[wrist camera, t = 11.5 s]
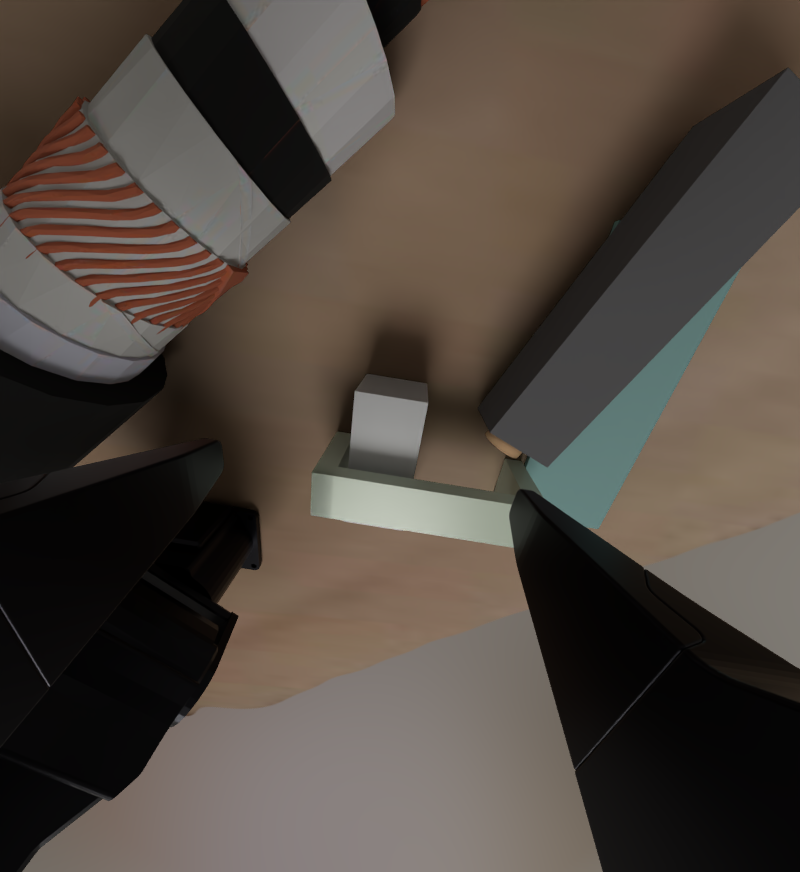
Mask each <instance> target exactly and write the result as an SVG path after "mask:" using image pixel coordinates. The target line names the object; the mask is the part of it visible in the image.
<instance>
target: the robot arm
mask: <svg viewBox="0 0 800 872" xmlns="http://www.w3.org/2000/svg"><path fill="white" fill-rule="evenodd" d="M223 468H224V461H223V452H222V445H221V442H219V441H218V440H214V439H208V438H204V439H199V440H194V441H190V442H185V443H181V444H176V445H172V446H167V447H163V448H158V449H154V450H149V451H145V452H140V453H136V454H131V455H127V456H122V457H118V458H113V459H109V460H104V461H100V462H95V463H91V464H86V465H82V466H77V467H73V468H68V469H64V470H59V471H55V472H51V473H49V474H41V475H37V476H32V477H28V478H23V479H18V480H14V481H9V482H4V483H0V872H22V871H23V870H24V868H25V867H26V865H27V864H28V863H29V862H30V860H31V859H32V858H33V856H34V855H35V853H36V852H37V851H38V850H39V849H40V848H41V847H42V846H43V845H45V844H46V843H47V842H48V841H50V840H51V839H52V838H53V837H55V836H56V835H57V834H58V833H60V832H61V831H62V830H64V829H65V828H66V827H67V826H69V825H70V824H71V823H73V822H74V821H75V820H76V819H78V818H79V817H80V816H81V815H83V814H84V813H85V812H86V811H88V810H89V809H90V808H92V807H93V806H94V805H95V804H97V803H98V802H99V801H100V800H102V799H105V800H107V801H110V800H112V799H113V798H115V797H116V796H117V795H118V794H119V793H120V792H122V791H123V790H124V789H125V788H126V787H127V786H128V785H129V784H130V783H131V782H133V781H134V780H135V779H136V778H137V777H138V776H139V775H140V774H141V772H142V771H143V769H144V768H145V766H146V764H147V763H148V761H149V759H150V758H151V756H152V754H153V752H154V751H155V750H156V748H157V746H158V745H159V742H160V741H161V740H162V738H163V736H164V735H165V733H166V732H167V730H168V729H169V727H173V726H175V725H176V724H178V723H179V722H180V721H181V720H182V719H183V718H184V717H185V716H186V715H187V713H188V712H189V711H190V710H191V709H192V707H193V706H194V705H195V703H196V702H197V701H198V699H199V698H200V696H201V695H202V694H203V692H204V691H205V689H206V687H207V686H208V684H209V682H210V681H211V679H212V677H213V675H214V673H215V671H216V669H217V667H218V665H219V662H220V660H221V657H222V655H223V653H224V650H225V648H226V645H227V643H228V641H229V638H230V636H231V633H232V631H233V628H234V626H235V624H236V621H237V619H238V615H236V614H235V613H233V612H231V613H230V612H229V611H227V610H226V609H224V608H223V607H221V606H220V605H218V604H217V603H218V602H219V600H220V599H221V597H222V596H223V594H224V593H225V591H226V590H227V588H228V587H229V585H230V584H231V582H232V581H233V579H234V578H235V576H236V575H237V573H238V572H239V570H240V569H241V568H245V569H252V570H257V569H259V567H260V566H261V549H260V533H259V517H258V513H257V512H256V511H254V510H249V509H243V508H237V507H231V506H224V505H218V504H212V503H206V502H203V500H204V499H205V497H206V496H207V494H208V493H209V491H210V490H211V488H212V487H213V485H214V484H215V482H216V481H217V479H218V478H219V476H220V475H221V473H222V471H223ZM251 516H252V517H251ZM509 521H510V527H511V533H512V539H513V546H514V552H515V558H516V563H517V567H518V571H519V575H520V578H521V582H522V585H523V589H524V592H525V596H526V600H527V603H528V607H529V610H530V614H531V617H532V621H533V624H534V628H535V631H536V635H537V639H538V642H539V645H540V649H541V653H542V656H543V660H544V663H545V667H546V671H547V674H548V678H549V681H550V685H551V688H552V692H553V695H554V699H555V702H556V706H557V710H558V713H559V717H560V720H561V724H562V727H563V731H564V734H565V738H566V741H567V745H568V749H569V752H570V756H571V759H572V763H573V766H574V769H575V770H576V771H575V774H576V778H577V782H578V785H579V788H580V792H581V796H582V799H583V802H584V806H585V810H586V814H587V817H588V821H589V824H590V828H591V831H592V834H593V838H594V842H595V845H596V849H597V852H598V856H599V860H600V863H601V867H602V870H603V872H800V669H799V668H797V667H795V666H794V665H792V664H790V663H789V662H787V661H786V660H784V659H783V658H781V657H780V656H778V655H776V654H775V653H773V652H772V651H770V650H769V649H767V648H765V647H764V646H762V645H761V644H759V643H757V642H756V641H754V640H753V639H751V638H750V637H748V636H747V635H745V634H743V633H742V632H740V631H738V630H737V629H735V628H734V627H732V626H731V625H729V624H728V623H726V622H724V621H723V620H721V619H720V618H718V617H717V616H715V615H714V614H712V613H711V612H709V611H707V610H706V609H704V608H703V607H701V606H699V605H698V604H697V603H695V602H694V601H692V600H691V599H689V598H687V597H686V596H684V595H683V594H681V593H680V592H679V591H677V590H676V589H674V588H673V587H671V586H670V585H668V584H667V583H665V582H664V581H662V580H661V579H659V578H658V577H657V576H655V575H654V574H652V573H651V572H649V571H648V570H644V568H643V567H642V566H641V565H639V564H638V563H636V562H635V561H634V560H632V559H631V558H629V557H628V556H626V555H625V554H623V553H622V552H621V551H619V550H618V549H616V548H615V547H613V546H612V545H611V544H609V543H608V542H606V541H605V540H603V539H602V538H600V537H599V536H598V535H596V534H595V533H593V532H592V531H590V530H589V529H588V528H586V527H585V526H583V525H582V524H580V523H579V522H577V521H576V520H575V519H573V518H572V517H570V516H569V515H567V514H566V513H565V512H563V511H562V510H560V509H559V508H557V507H556V506H554V505H553V504H552V503H550V502H549V501H547V500H546V499H544V498H543V497H542V496H540V495H539V494H537V493H536V492H534V491H532V490H526V489H519V490H518V491H517V493H516V495H515V498H514V501H513V503H512V506H511V509H510V512H509Z"/></svg>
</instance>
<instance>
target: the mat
mask: <svg viewBox="0 0 800 872" xmlns="http://www.w3.org/2000/svg"><path fill="white" fill-rule="evenodd" d="M620 221H621V220H618V221H615V222H614V225H613V227H612V230H611V233H612V232H613V230H614V229H615V228H616V226H617V225H618V224H619V222H620ZM611 233H610V234H611ZM740 269H741V268H740ZM740 269H739V270H740ZM739 270H738V271H737V272H736V273H735V274H734V275H733V276H732V278H731V279H730V280H729V281H728V282H727V283H726V284H725V285H724V286H723V287H722V288H721V289H720V290H719V291H718V292H717V293H716V294H715V295H714V296H713V297H712V298H711V299H710V300H709V301H708V302H707V303H706V304H705V305H704V306H703V307H702V308H701V310H700V311H699V312H698V313H697V314H696V315H695V316H694V317H693V318H692V319H691V320H690V321H689V322H688V323H687V324H686V325H685V326H684V327H683V328H682V329H681V330H680V331H679V332H678V333H677V334H676V335H675V336H674V337H673V338H672V339H671V341H670V342H669V343H668V344H667V345H666V346H665V347H664V348H663V349H662V350H661V351H660V352H659V353H658V354H657V355H656V356H655V357H654V358H653V359H652V360H651V361H650V362H649V363H648V364H647V365H646V366H645V367H644V368H643V369H642V370H641V372H640V373H639V374H638V375H637V376H636V377H635V378H634V379H633V380H632V381H631V382H630V383H629V384H628V385H627V386H626V387H625V388H624V389H623V390H622V391H621V392H620V393H619V394H618V395H617V396H616V397H615V398H614V399H613V400H612V401H611V403H610V404H609V405H608V406H607V407H606V408H605V409H604V410H603V411H602V412H601V413H600V414H599V415H598V416H597V417H596V418H595V419H594V420H593V421H592V422H591V423H590V424H589V425H588V426H587V427H586V428H585V429H584V430H583V431H582V432H581V434H580V435H579V436H578V437H577V438H576V439H575V440H574V441H573V442H572V443H571V444H570V445H569V446H568V447H567V448H566V449H565V450H564V451H563V452H562V453H561V454H560V455H559V456H558V457H557V458H556V459H555V460H554V461H553V462H552V463H551V464H550V466H549V467H548V468H547V467H545V466H544V465H542V464H540V463H539V462H537V461H536V460H534V459H532V458H531V457H529V456H528V457H527V459H526V462H525V465H524V466H525V468H526V470H527V471H528V473H529V475H530V476H531V478H532V480H533V481H534V483H535V485H536V486H537V488H538V490H539V491H540V493H541V495H542V496H543V498H544V499H546V500H547V501H549V502H550V503H552V504H553V505H554V506H556V507H557V508H559V509H560V510H562V511H563V512H565V513H566V514H567V515H569V516H570V517H572V518H573V519H575V520H576V521H577V522H579V523H580V524H582V525H583V526H585V527H589V528H595V529H598V528H599V527H600V525H601V523H602V521H603V519H604V517H605V516H606V514H607V512H608V510H609V508H610V506H611V505H612V503H613V501H614V499H615V497H616V496H617V494H618V492H619V490H620V488H621V486H622V485H623V483H624V481H625V479H626V477H627V475H628V474H629V472H630V470H631V468H632V466H633V464H634V463H635V461H636V459H637V457H638V455H639V453H640V452H641V450H642V448H643V446H644V444H645V442H646V441H647V439H648V437H649V435H650V433H651V431H652V430H653V428H654V426H655V424H656V422H657V420H658V419H659V417H660V415H661V413H662V411H663V409H664V408H665V406H666V404H667V402H668V400H669V399H670V397H671V395H672V393H673V391H674V389H675V388H676V386H677V384H678V382H679V380H680V378H681V377H682V375H683V373H684V371H685V369H686V367H687V366H688V364H689V362H690V360H691V358H692V356H693V355H694V353H695V351H696V349H697V347H698V345H699V344H700V342H701V340H702V338H703V336H704V334H705V333H706V331H707V329H708V327H709V325H710V323H711V322H712V320H713V318H714V316H715V314H716V312H717V311H718V309H719V307H720V305H721V303H722V302H723V300H724V298H725V296H726V294H727V292H728V291H729V289H730V287H731V285H732V283H733V281H734V280H735V278H736V276H737V274H738V272H739Z"/></svg>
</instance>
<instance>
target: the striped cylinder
mask: <svg viewBox="0 0 800 872" xmlns="http://www.w3.org/2000/svg"><path fill="white" fill-rule="evenodd" d="M427 1H428V0H183V1H182V2H181V3H180V4H179V6H178V7H177V8H176V9H175V10H174V12H173V13H172V14H171V15H170V16H169V18H168V19H167V20H166V21H165V23H164V24H163V25H162V26H161V27H160V29H159V30H158V31H157V32H156V33H155V35H154V36H153V37H151V36H149V35H148V34H145V36H144V37H143V38H142V39H141V41H140V42H139V43H138V44H137V45H136V47H135V48H134V49H133V50H132V52H131V53H130V54H129V55H128V57H127V58H126V59H125V60H124V61H123V63H122V64H121V65H120V66H119V68H118V69H117V70H116V71H115V72H114V74H113V75H112V76H111V77H110V79H109V80H108V81H107V82H106V84H105V85H104V86H103V87H102V88H101V90H100V91H99V92H98V93H97V95H96V96H95V97H94V98H93V100H92V101H91V102H90V101H89V100H88V99H87V98H86V97H84V98H83V99H81V98H80V97H78V96H77V98H76V99H75V101H74V103H73V104H72V105H71V106H70V107H69V109H68V110H67V111H66V112H65V113H64V114H63V115H62V116H61V117H60V118H59V120H58V121H57V123H56V124H55V126H54V128H53V129H52V131H51V132H50V133H49V134H48V135H47V136H45V137H44V139H43V140H42V142H41V143H40V144H39V146H38V148H37V150H36V151H35V152H34V153H32V155H31V156H30V157H29V158H28V160H27V161H26V162H25V163H24V165H23V167H22V169H21V170H20V171H19V172H17V173H16V174H15V175H14V176H13V177H12V179H11V180H10V181H9V183H8V184H7V185H6V186H5V187H3V188H1V189H0V483H4V482H9V481H14V480H18V479H23V478H28V477H32V476H37V475H41V474H49V473H51V472H55V471H59V470H64V469H68V468H73V467H74V466H75V465H76V464H77V463H78V462H80V461H81V460H82V459H83V458H84V457H85V456H86V455H88V454H89V453H90V452H91V451H92V450H93V449H94V448H96V447H97V446H98V445H99V444H100V443H101V442H103V441H104V440H105V439H106V438H107V437H108V436H109V435H111V434H112V433H113V432H114V431H115V430H116V429H117V428H119V427H120V426H121V425H122V424H123V423H124V422H125V421H127V420H128V419H129V418H130V417H131V416H132V415H134V414H135V413H136V412H137V411H138V410H139V409H140V408H142V407H143V406H144V405H145V404H146V403H147V402H148V401H150V400H151V399H152V398H153V397H154V396H155V395H156V394H158V393H159V392H160V391H161V390H162V389H163V388H164V385H165V381H166V377H167V372H166V366H165V360H164V357H163V355H162V354H161V353H162V352H163V351H164V349H165V345H166V344H167V343H168V342H170V341H171V340H172V339H173V338H174V337H175V336H176V335H177V334H179V333H180V332H181V331H182V330H183V329H184V328H185V327H187V326H188V325H189V322H190V321H191V320H193V319H194V318H195V317H196V316H198V315H200V314H202V313H203V312H205V311H206V310H207V309H208V308H209V307H210V306H211V305H212V303H213V302H214V301H216V300H217V299H218V298H219V297H220V296H222V295H223V294H224V293H225V292H226V291H228V290H229V289H230V288H231V287H233V286H234V285H236V284H238V283H240V282H242V281H243V279H244V278H245V277H246V276H247V274H248V272H247V270H248V268H247V267H246V266H247V265H248V264H247V263H246V262H247V261H248V260H249V259H250V258H252V257H253V256H254V255H255V254H256V253H257V252H258V251H259V250H260V249H262V248H263V247H264V246H265V245H266V244H267V243H268V242H269V241H270V240H272V239H273V238H274V237H275V236H276V235H277V234H278V233H279V232H280V231H282V230H283V229H284V228H285V227H286V226H287V225H288V224H289V223H290V222H291V221H290V217H291V216H292V215H293V214H295V213H296V212H297V211H298V210H299V209H300V208H301V207H302V206H303V205H305V204H306V203H307V202H308V201H309V200H310V199H311V198H312V197H314V196H315V195H316V194H317V193H318V192H319V191H320V190H321V189H322V188H324V187H325V186H326V185H327V184H328V183H329V182H330V181H331V177H330V176H331V175H332V174H333V173H334V172H335V171H336V170H337V169H338V168H339V167H340V166H341V165H343V164H344V163H345V162H346V161H347V160H348V159H349V158H350V157H351V156H352V155H353V154H354V153H356V152H357V151H358V150H359V149H360V148H361V147H362V146H363V145H364V144H365V143H366V142H368V141H369V140H370V139H371V138H372V137H373V136H374V135H375V134H376V133H377V132H378V131H379V130H381V129H382V128H383V127H384V126H385V125H386V124H387V123H388V122H389V121H390V120H391V119H392V118H393V117H394V116H395V95H394V91H393V86H392V82H391V77H390V73H389V68H388V64H387V59H386V56H385V53H384V50H383V48H384V47H385V46H386V45H387V44H388V43H389V42H390V41H391V40H392V39H393V38H394V37H395V36H396V35H397V34H398V33H399V32H400V31H401V30H402V29H403V28H404V27H405V26H406V25H407V24H408V23H409V22H410V21H411V20H412V19H413V18H414V17H415V16H417V14H418V13H419V11H420V10H421V7H422V6H423V5H424V4H425V3H426V2H427Z"/></svg>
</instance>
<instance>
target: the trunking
mask: <svg viewBox="0 0 800 872" xmlns="http://www.w3.org/2000/svg"><path fill="white" fill-rule="evenodd" d="M427 407H428V389H427V383H421V382H415V381H409V380H403V379H397V378H390V377H384V376H378V375H372V374H366V376H365V377H364V379H363V380H362V381H361V383H360V384H359V386H358V387H357V389H356V390H355V395H354V406H353V418H352V429H351V441H350V452H349V464H348V468H349V469H355V470H361V471H368V472H374V473H380V474H386V475H393V476H399V477H405V478H411V479H413V478H414V473H415V468H416V463H417V458H418V453H419V448H420V443H421V438H422V433H423V428H424V423H425V417H426V412H427ZM345 522H350V521H345ZM351 523H356V522H351ZM357 524H363V523H357ZM363 525H369V524H363ZM370 526H375V525H370ZM376 527H381V526H376ZM382 528H388V527H382ZM388 529H394V528H388ZM395 530H400V529H395ZM401 531H403V530H401Z"/></svg>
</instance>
